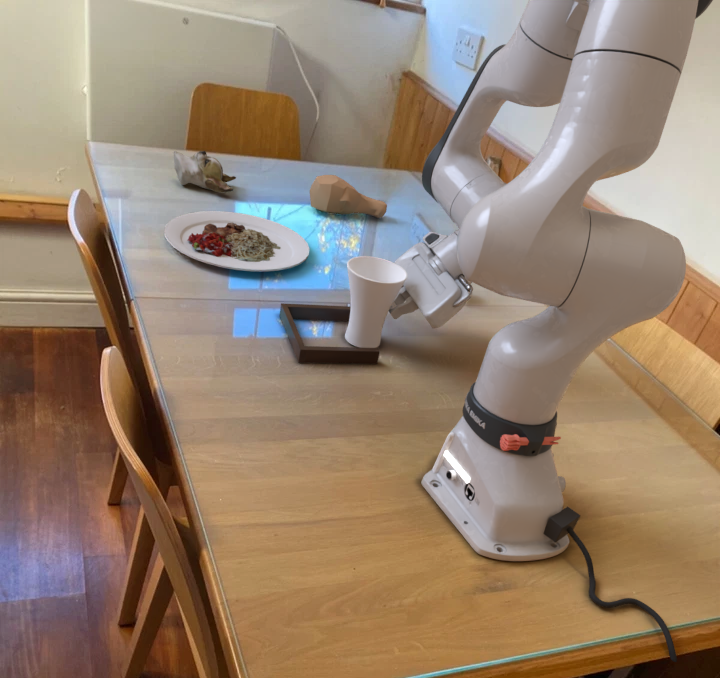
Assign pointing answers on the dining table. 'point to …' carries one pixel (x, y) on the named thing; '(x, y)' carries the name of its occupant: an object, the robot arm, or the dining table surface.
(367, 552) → the dining table surface
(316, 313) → the dark brown flat frame
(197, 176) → the ceramic sculpture
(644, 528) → the dining table surface
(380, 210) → the tan chicken drumstick
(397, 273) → the cup
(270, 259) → the plated food
